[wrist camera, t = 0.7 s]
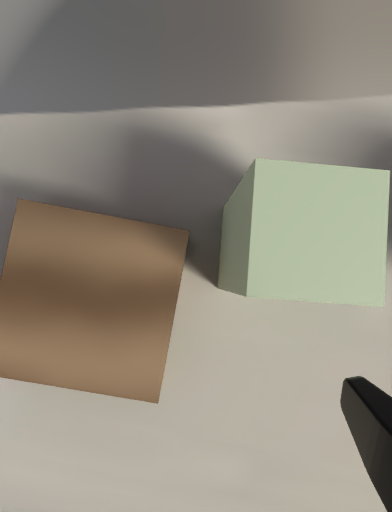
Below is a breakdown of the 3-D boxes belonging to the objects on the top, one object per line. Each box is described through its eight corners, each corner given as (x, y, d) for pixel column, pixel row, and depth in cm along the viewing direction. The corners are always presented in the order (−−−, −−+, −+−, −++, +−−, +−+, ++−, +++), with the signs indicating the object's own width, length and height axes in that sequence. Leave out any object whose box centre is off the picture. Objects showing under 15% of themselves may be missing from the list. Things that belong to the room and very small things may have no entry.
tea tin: (298, 294, 24) (384, 307, 14) (217, 287, 24) (246, 296, 14) (303, 213, 24) (390, 170, 14) (223, 206, 24) (255, 158, 14)
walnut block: (160, 384, 24) (157, 403, 20) (9, 359, 23) (-21, 373, 20) (188, 237, 24) (190, 230, 21) (41, 209, 24) (18, 198, 20)
